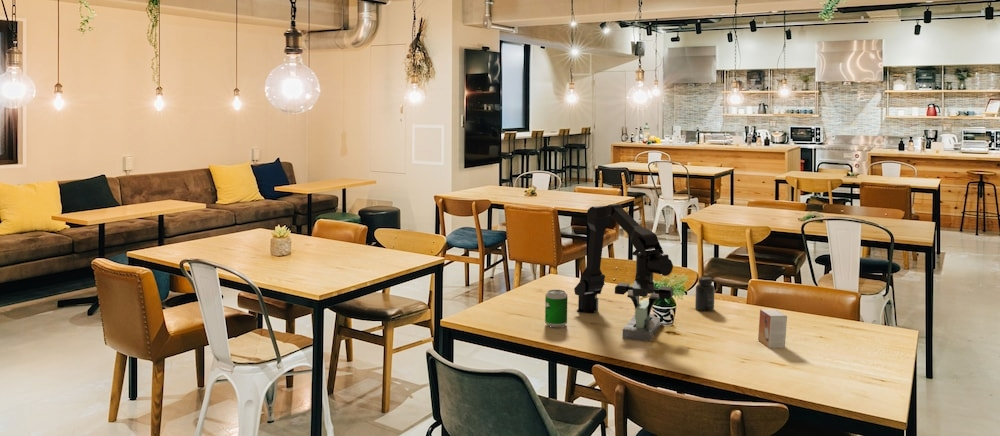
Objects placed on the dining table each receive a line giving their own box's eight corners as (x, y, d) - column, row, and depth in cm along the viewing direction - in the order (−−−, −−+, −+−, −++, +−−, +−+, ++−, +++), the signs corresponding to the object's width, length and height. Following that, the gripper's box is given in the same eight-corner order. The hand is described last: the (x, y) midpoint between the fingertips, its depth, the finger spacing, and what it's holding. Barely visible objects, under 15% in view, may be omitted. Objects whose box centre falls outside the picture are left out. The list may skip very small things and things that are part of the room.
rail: (622, 338, 253) (622, 329, 252) (636, 320, 273) (636, 312, 272) (650, 341, 249) (650, 332, 249) (661, 323, 270) (662, 315, 269)
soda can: (570, 324, 269) (570, 290, 267) (562, 329, 262) (563, 295, 260) (549, 321, 272) (550, 288, 270) (541, 327, 265) (542, 292, 263)
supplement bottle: (712, 307, 292) (713, 276, 290) (715, 312, 285) (716, 280, 283) (693, 306, 292) (694, 275, 290) (696, 311, 286) (697, 279, 284)
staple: (634, 331, 256) (635, 309, 255) (641, 321, 267) (642, 300, 266) (643, 332, 255) (644, 309, 254) (650, 322, 266) (651, 301, 265)
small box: (757, 340, 251) (759, 309, 249) (774, 340, 251) (776, 308, 250) (768, 348, 243) (770, 315, 242) (785, 347, 244) (787, 315, 242)
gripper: (611, 272, 254) (610, 318, 256) (669, 277, 247) (667, 324, 250) (619, 266, 264) (617, 310, 267) (674, 270, 258) (672, 316, 260)
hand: (643, 315), depth 260 cm, fingers closed on staple, 3 cm apart
